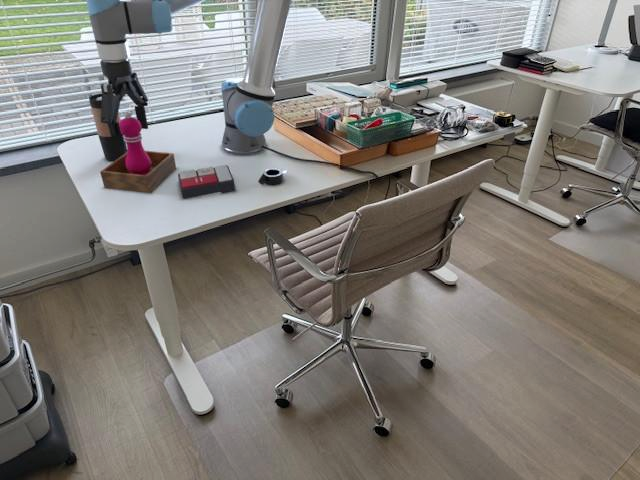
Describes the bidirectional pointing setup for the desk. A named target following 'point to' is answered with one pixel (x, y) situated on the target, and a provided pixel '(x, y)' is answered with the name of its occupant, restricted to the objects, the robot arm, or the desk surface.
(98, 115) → the travel mug
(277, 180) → the duct tape
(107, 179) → the wooden box
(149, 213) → the desk surface
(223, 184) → the black red grey box
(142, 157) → the pepper mill
